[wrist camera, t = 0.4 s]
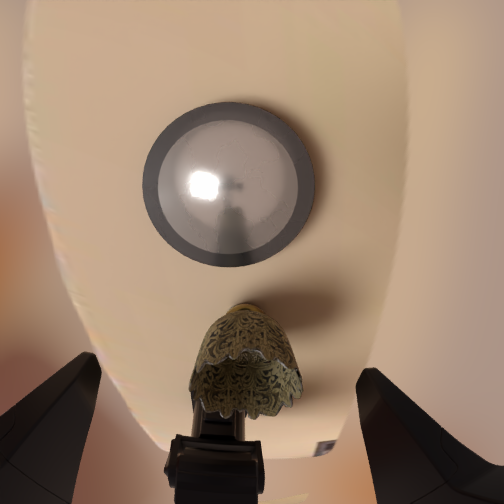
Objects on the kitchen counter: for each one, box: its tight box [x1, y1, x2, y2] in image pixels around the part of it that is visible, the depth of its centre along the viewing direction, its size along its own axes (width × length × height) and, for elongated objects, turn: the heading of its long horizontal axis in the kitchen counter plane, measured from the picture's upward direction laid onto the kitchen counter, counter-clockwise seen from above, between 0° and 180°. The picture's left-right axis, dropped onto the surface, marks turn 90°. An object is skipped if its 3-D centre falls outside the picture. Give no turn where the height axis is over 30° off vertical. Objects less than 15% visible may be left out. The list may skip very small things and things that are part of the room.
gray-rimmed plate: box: [142, 102, 315, 267], centre depth 18 cm, size 11×11×1 cm
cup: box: [189, 304, 303, 420], centre depth 20 cm, size 8×7×8 cm
